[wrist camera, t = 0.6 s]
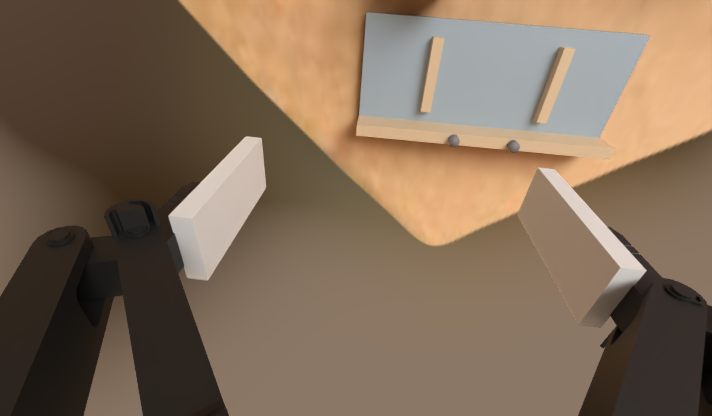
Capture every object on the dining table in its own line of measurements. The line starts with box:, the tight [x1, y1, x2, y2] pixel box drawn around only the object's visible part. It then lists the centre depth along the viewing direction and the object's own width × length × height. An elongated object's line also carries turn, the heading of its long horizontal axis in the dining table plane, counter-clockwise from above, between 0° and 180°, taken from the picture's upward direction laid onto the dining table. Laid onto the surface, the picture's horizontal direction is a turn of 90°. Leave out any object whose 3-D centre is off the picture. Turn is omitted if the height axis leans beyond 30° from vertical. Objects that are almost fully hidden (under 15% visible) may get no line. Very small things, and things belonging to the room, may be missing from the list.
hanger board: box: [356, 12, 651, 160], centre depth 32 cm, size 11×26×5 cm, turn 86°
